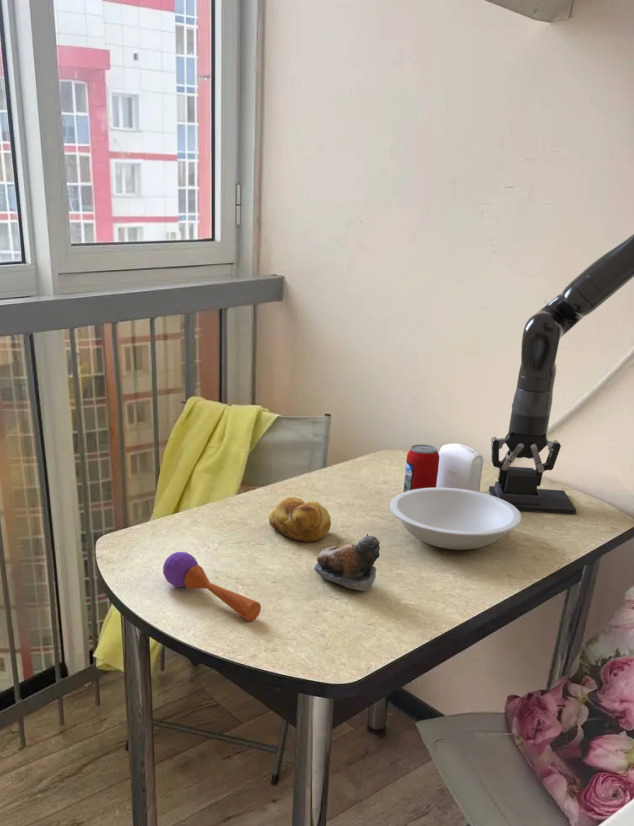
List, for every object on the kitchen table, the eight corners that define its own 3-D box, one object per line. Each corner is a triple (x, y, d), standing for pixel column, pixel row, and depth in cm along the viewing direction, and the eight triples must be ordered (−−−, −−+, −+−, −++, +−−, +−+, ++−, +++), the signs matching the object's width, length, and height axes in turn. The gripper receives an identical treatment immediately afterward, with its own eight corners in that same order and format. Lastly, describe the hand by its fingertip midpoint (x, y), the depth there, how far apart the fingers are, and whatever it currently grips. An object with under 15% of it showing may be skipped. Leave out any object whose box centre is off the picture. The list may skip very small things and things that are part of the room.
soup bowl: (543, 549, 145) (549, 517, 142) (451, 579, 134) (456, 544, 131) (449, 509, 164) (453, 479, 161) (361, 532, 152) (364, 500, 150)
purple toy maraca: (238, 606, 116) (153, 556, 129) (241, 636, 120) (158, 584, 132) (265, 587, 120) (180, 540, 132) (267, 616, 123) (184, 568, 135)
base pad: (563, 494, 172) (565, 482, 171) (575, 514, 161) (578, 502, 160) (488, 490, 174) (490, 478, 173) (496, 509, 164) (498, 497, 162)
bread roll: (258, 530, 153) (258, 492, 150) (291, 517, 159) (293, 480, 156) (306, 550, 144) (308, 510, 141) (340, 536, 150) (342, 497, 147)
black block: (529, 485, 169) (533, 467, 168) (534, 494, 164) (538, 476, 162) (501, 483, 170) (504, 466, 168) (505, 492, 165) (508, 475, 163)
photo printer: (431, 495, 171) (437, 441, 166) (444, 491, 173) (451, 438, 168) (466, 509, 163) (474, 453, 158) (480, 505, 165) (488, 450, 160)
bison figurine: (306, 578, 134) (308, 524, 130) (332, 565, 138) (335, 513, 134) (362, 602, 126) (366, 546, 122) (387, 588, 131) (392, 533, 126)
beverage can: (406, 493, 172) (412, 441, 167) (437, 498, 169) (443, 446, 164) (399, 503, 166) (404, 450, 162) (430, 508, 164) (436, 454, 159)
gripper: (497, 413, 158) (486, 490, 164) (571, 416, 155) (557, 494, 162) (492, 404, 164) (481, 478, 171) (563, 407, 162) (549, 482, 169)
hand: (518, 486), depth 167 cm, fingers closed on black block, 6 cm apart
